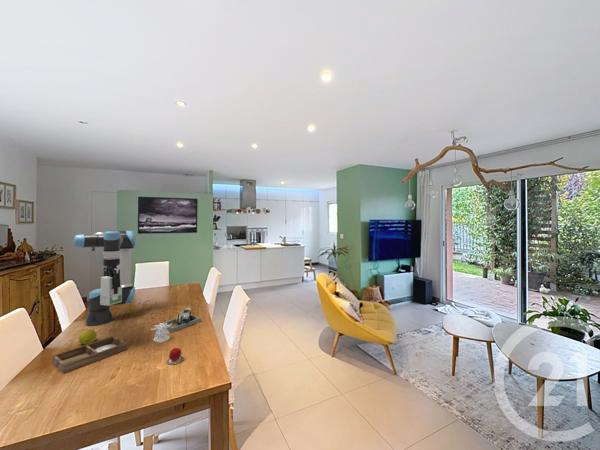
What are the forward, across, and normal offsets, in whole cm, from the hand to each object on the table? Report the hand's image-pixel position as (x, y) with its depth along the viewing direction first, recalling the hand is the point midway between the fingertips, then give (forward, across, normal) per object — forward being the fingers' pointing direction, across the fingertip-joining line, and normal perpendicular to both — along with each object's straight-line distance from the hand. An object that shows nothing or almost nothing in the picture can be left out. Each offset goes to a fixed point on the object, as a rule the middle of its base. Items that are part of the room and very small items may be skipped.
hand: (111, 298), depth 140 cm
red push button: (+28, +44, +11) cm, 53 cm away
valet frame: (+27, +5, +41) cm, 49 cm away
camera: (+28, +4, +43) cm, 51 cm away
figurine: (+28, +15, +20) cm, 38 cm away
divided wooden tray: (+28, +4, -10) cm, 30 cm away
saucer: (+27, +4, -4) cm, 27 cm away
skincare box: (+3, 0, 0) cm, 3 cm away
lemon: (+28, -16, -5) cm, 32 cm away
